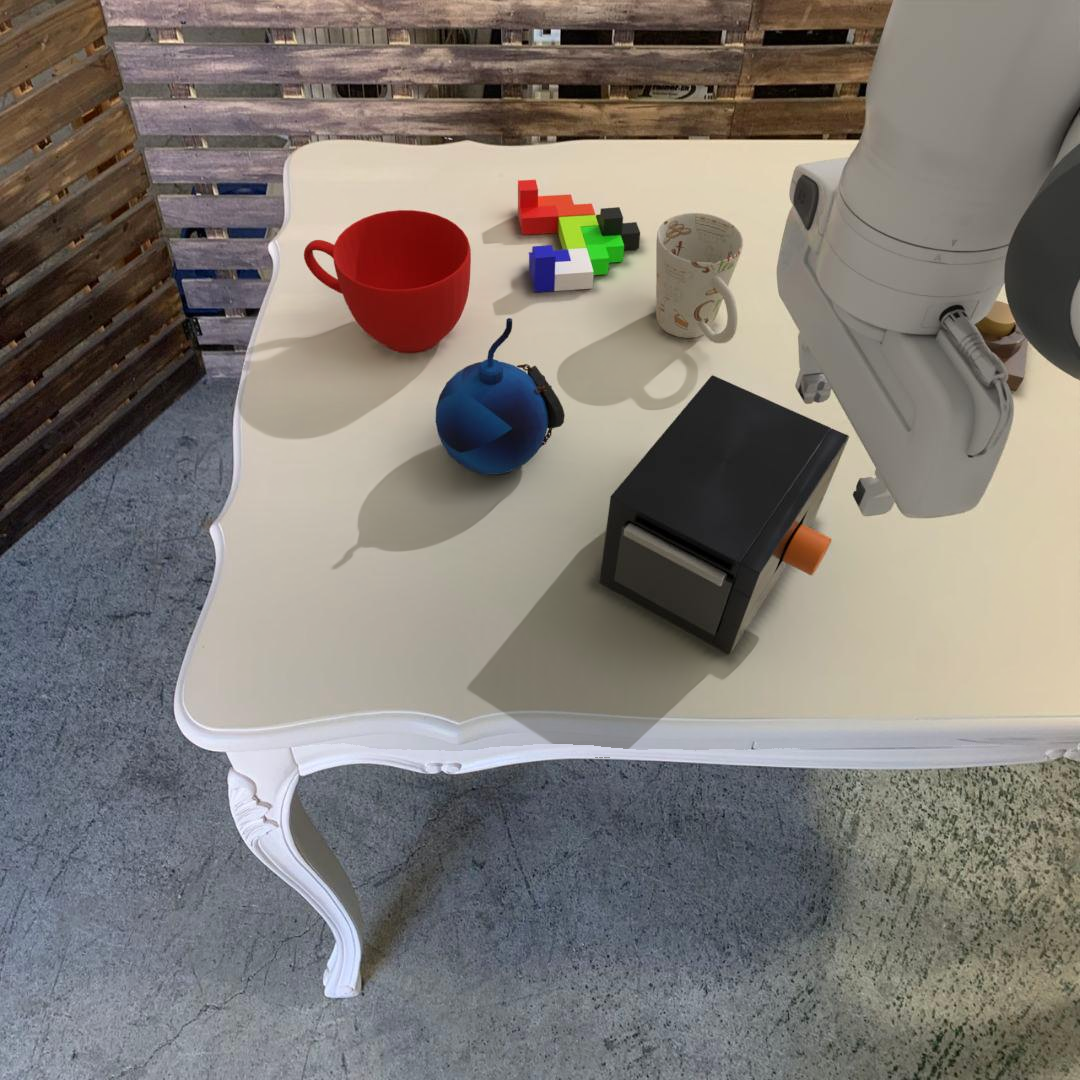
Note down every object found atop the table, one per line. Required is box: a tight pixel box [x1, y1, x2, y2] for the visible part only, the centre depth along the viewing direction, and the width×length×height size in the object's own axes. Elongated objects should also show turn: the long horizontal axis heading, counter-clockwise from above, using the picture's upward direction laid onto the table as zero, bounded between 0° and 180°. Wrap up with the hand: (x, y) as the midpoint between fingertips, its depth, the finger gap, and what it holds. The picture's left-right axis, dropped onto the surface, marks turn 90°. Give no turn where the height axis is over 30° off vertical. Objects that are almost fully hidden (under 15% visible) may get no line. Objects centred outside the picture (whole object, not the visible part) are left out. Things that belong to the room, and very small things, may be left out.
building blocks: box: [517, 179, 641, 293], centre depth 100 cm, size 15×13×4 cm
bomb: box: [434, 317, 565, 475], centre depth 76 cm, size 10×11×15 cm
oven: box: [598, 374, 850, 655], centre depth 71 cm, size 12×17×11 cm
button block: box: [974, 323, 1029, 392], centre depth 92 cm, size 8×10×4 cm
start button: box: [975, 300, 1016, 337], centre depth 90 cm, size 4×4×2 cm
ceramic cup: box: [303, 209, 472, 354], centre depth 89 cm, size 13×17×10 cm
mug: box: [655, 212, 744, 344], centre depth 90 cm, size 8×13×10 cm, turn 26°
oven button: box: [782, 525, 832, 576], centre depth 69 cm, size 2×3×3 cm
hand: (838, 448), depth 55 cm, fingers open, 8 cm apart
